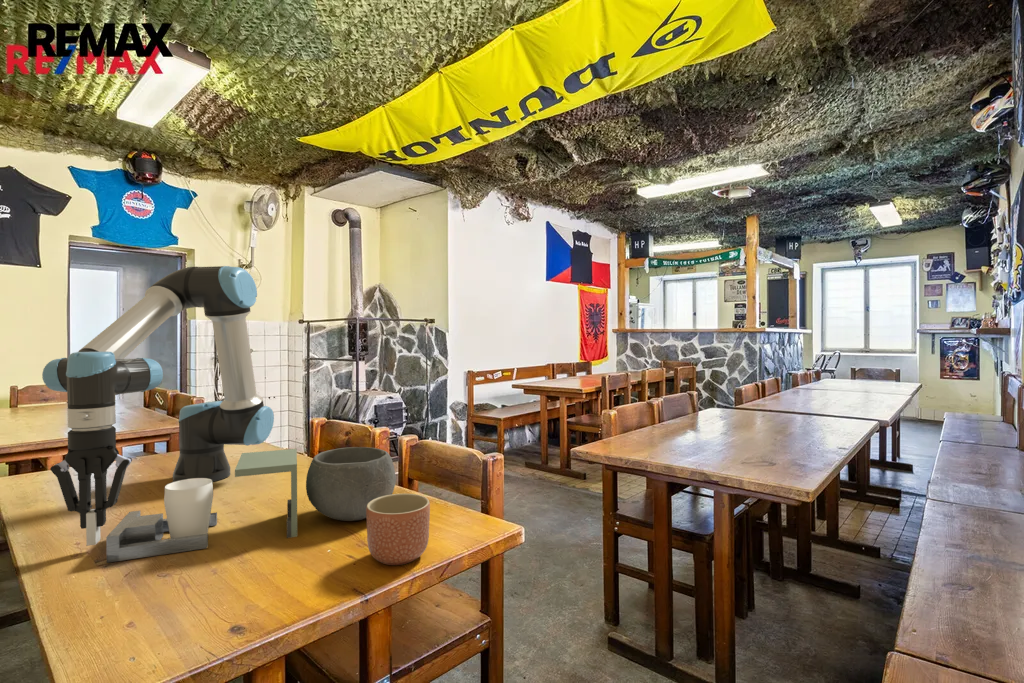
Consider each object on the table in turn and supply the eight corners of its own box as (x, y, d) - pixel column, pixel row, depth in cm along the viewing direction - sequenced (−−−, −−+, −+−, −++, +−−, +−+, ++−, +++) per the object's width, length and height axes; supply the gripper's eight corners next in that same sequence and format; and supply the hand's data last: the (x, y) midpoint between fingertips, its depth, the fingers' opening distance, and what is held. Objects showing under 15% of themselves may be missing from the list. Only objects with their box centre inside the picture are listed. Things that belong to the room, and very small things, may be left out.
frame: (129, 534, 111) (129, 511, 111) (217, 522, 118) (216, 501, 118) (106, 562, 97) (106, 537, 97) (207, 548, 104) (206, 524, 104)
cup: (190, 549, 104) (189, 491, 104) (153, 545, 106) (153, 488, 106) (223, 532, 113) (222, 479, 113) (189, 529, 115) (188, 476, 114)
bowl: (291, 515, 123) (290, 454, 123) (367, 495, 139) (367, 441, 138) (333, 539, 109) (332, 470, 109) (412, 514, 124) (412, 454, 124)
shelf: (242, 519, 120) (241, 453, 120) (296, 512, 125) (296, 448, 125) (235, 545, 106) (234, 469, 105) (297, 536, 111) (297, 464, 110)
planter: (352, 565, 97) (352, 509, 97) (390, 540, 109) (390, 490, 108) (408, 576, 93) (408, 517, 92) (441, 549, 104) (441, 497, 104)
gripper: (42, 433, 96) (44, 555, 97) (125, 428, 101) (126, 544, 102) (59, 426, 103) (60, 540, 103) (136, 422, 108) (137, 531, 109)
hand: (93, 542), depth 103 cm, fingers closed
